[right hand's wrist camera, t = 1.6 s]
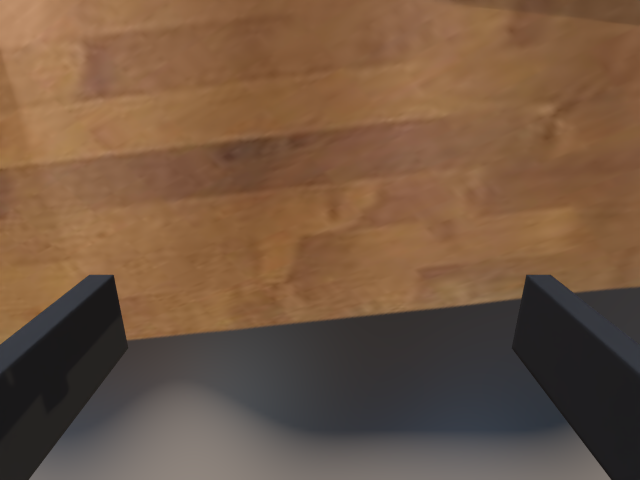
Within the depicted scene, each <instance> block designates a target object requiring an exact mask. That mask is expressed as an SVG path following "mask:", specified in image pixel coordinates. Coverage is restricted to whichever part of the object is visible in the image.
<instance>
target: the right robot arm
mask: <svg viewBox="0 0 640 480" xmlns="http://www.w3.org/2000/svg"><path fill="white" fill-rule="evenodd" d="M127 349H128V345H127V340H126V335H125V330H124V325H123V320H122V315H121V310H120V305H119V300H118V295H117V290H116V285H115V280H114V275H89V276H87V277H86V278H85V279H84V280H82V281H81V282H80V283H79V284H77V285H76V286H75V287H73V288H72V289H71V290H70V291H68V292H67V293H66V294H64V295H63V296H62V297H61V298H59V299H58V300H57V301H56V302H54V303H53V304H52V305H50V306H49V307H48V308H47V309H45V310H44V311H43V312H41V313H40V314H39V315H38V316H36V317H35V318H34V319H33V320H31V321H30V322H29V323H27V324H26V325H25V326H24V327H22V328H21V329H20V330H18V331H17V332H16V333H15V334H13V335H12V336H11V337H9V338H8V339H7V340H6V341H4V342H3V343H2V344H1V345H0V480H29V478H30V477H31V476H32V474H33V473H34V472H35V470H36V469H37V468H38V467H39V465H40V464H41V463H42V461H43V460H44V459H45V457H46V456H47V455H48V453H49V452H50V451H51V449H52V448H53V447H54V445H55V444H56V443H57V441H58V440H59V439H60V437H61V436H62V435H63V434H64V432H65V431H66V430H67V428H68V427H69V426H70V424H71V423H72V422H73V420H74V419H75V418H76V416H77V415H78V414H79V412H80V411H81V410H82V408H83V407H84V406H85V404H86V403H87V402H88V400H89V399H90V398H91V396H92V395H93V394H94V393H95V391H96V390H97V389H98V387H99V386H100V385H101V383H102V382H103V381H104V379H105V378H106V377H107V375H108V374H109V373H110V371H111V370H112V369H113V367H114V366H115V365H116V363H117V362H118V361H119V359H120V358H121V357H122V355H123V354H124V353H125V352H126V350H127ZM512 349H513V350H514V352H515V353H516V354H517V355H518V357H519V358H520V359H521V361H522V362H523V363H524V365H525V366H526V367H527V369H528V370H529V371H530V373H531V374H532V375H533V377H534V378H535V379H536V381H537V382H538V383H539V385H540V386H541V387H542V389H543V390H544V391H545V393H546V394H547V395H548V396H549V398H550V399H551V400H552V402H553V403H554V404H555V406H556V407H557V408H558V410H559V411H560V412H561V414H562V415H563V416H564V418H565V419H566V420H567V422H568V423H569V424H570V426H571V427H572V428H573V429H574V431H575V432H576V433H577V435H578V436H579V437H580V439H581V440H582V441H583V443H584V444H585V445H586V447H587V448H588V449H589V451H590V452H591V453H592V455H593V456H594V457H595V459H596V460H597V461H598V463H599V464H600V465H601V466H602V468H603V469H604V470H605V472H606V473H607V474H608V476H609V477H610V478H611V480H640V345H639V344H638V343H637V342H636V341H634V340H633V339H632V338H630V337H629V336H628V335H627V334H625V333H624V332H623V331H622V330H620V329H619V328H618V327H616V326H615V325H614V324H613V323H611V322H610V321H609V320H607V319H606V318H605V317H604V316H602V315H601V314H600V313H598V312H597V311H596V310H595V309H593V308H592V307H591V306H590V305H588V304H587V303H586V302H584V301H583V300H582V299H581V298H579V297H578V296H577V295H576V294H574V293H573V292H572V291H570V290H569V289H568V288H567V287H565V286H564V285H563V284H561V283H560V282H559V281H558V280H556V279H555V278H554V277H553V276H551V275H526V280H525V285H524V290H523V295H522V300H521V305H520V310H519V315H518V320H517V325H516V330H515V335H514V340H513V345H512Z"/></svg>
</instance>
